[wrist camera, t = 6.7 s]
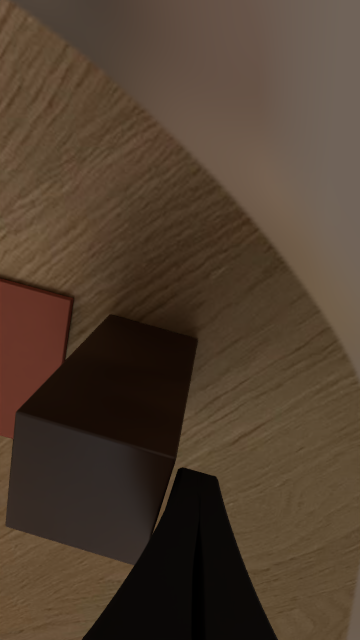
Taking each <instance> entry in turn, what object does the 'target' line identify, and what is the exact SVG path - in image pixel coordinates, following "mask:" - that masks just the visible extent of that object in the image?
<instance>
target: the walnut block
mask: <svg viewBox="0 0 360 640" xmlns="http://www.w3.org/2000/svg"><path fill="white" fill-rule="evenodd" d="M197 343H198V339H196V338H192V337H189V336H185V335H181V334H178V333H174V332H171V331H167V330H164V329H160V328H157V327H153V326H150V325H146V324H142V323H139V322H135V321H132V320H128V319H125V318H121V317H118V316H114V315H109V316H108V317H107V318H106V319H105V320H104V321H103V322H102V323H101V324H100V325H99V326H98V327H97V328H96V329H95V330H94V331H93V332H92V333H91V334H90V335H89V337H88V338H87V339H86V340H85V341H84V342H83V343H82V344H81V345H80V346H79V347H78V348H77V349H76V350H75V351H74V352H73V353H72V354H71V355H70V356H69V357H68V358H67V359H66V360H65V361H64V362H63V363H62V365H61V366H60V367H59V368H58V369H57V370H56V371H55V372H54V373H53V374H52V375H51V376H50V377H49V378H48V379H47V380H46V381H45V382H44V383H43V384H42V385H41V386H40V387H39V388H38V389H37V390H36V391H35V392H34V394H33V395H32V396H31V397H30V398H29V399H28V400H27V401H26V402H25V403H24V404H23V405H22V406H21V407H20V408H19V409H18V410H17V411H16V414H15V425H14V436H13V447H12V458H11V469H10V480H9V491H8V502H7V513H6V524H5V525H6V526H7V527H9V528H13V529H16V530H19V531H23V532H26V533H29V534H32V535H36V536H39V537H42V538H46V539H49V540H52V541H56V542H59V543H62V544H66V545H69V546H72V547H75V548H79V549H82V550H85V551H89V552H92V553H95V554H99V555H102V556H105V557H109V558H112V559H115V560H119V561H122V562H125V563H128V564H132V565H135V564H136V562H137V561H138V559H139V557H140V556H141V554H142V552H143V551H144V549H145V547H146V545H147V543H148V542H149V540H150V538H151V536H152V534H153V531H154V528H155V524H156V521H157V518H158V515H159V512H160V509H161V505H162V502H163V499H164V496H165V493H166V490H167V486H168V483H169V480H170V477H171V474H172V471H173V467H174V464H175V461H176V457H177V452H178V446H179V441H180V435H181V430H182V424H183V419H184V414H185V408H186V403H187V397H188V392H189V386H190V381H191V376H192V370H193V365H194V359H195V354H196V349H197Z"/></svg>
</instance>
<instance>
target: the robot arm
mask: <svg viewBox="0 0 360 640" xmlns="http://www.w3.org/2000/svg"><path fill="white" fill-rule="evenodd" d="M82 640H278V639H277V637H276V635H275V633H274V631H273V629H272V627H271V625H270V623H269V620H268V618H267V616H266V614H265V612H264V610H263V608H262V605H261V603H260V601H259V599H258V596H257V594H256V592H255V589H254V587H253V585H252V582H251V580H250V577H249V575H248V572H247V570H246V567H245V565H244V562H243V559H242V557H241V554H240V551H239V549H238V546H237V543H236V540H235V537H234V534H233V531H232V528H231V525H230V522H229V519H228V516H227V512H226V509H225V506H224V502H223V498H222V495H221V491H220V487H219V482H218V479H217V478H216V476H212V475H208V474H205V473H201V472H198V471H194V470H191V469H187V468H183V467H182V468H180V469H178V471H177V474H176V477H175V480H174V483H173V487H172V490H171V493H170V496H169V499H168V502H167V505H166V508H165V511H164V513H163V515H162V517H161V519H160V521H159V523H158V525H157V527H156V529H155V531H154V533H153V535H152V536H151V538H150V540H149V542H148V543H147V545H146V547H145V549H144V551H143V552H142V554H141V556H140V557H139V559H138V561H137V562H136V564H135V565H134V567H133V569H132V570H131V572H130V573H129V575H128V576H127V578H126V579H125V581H124V582H123V584H122V585H121V587H120V588H119V590H118V591H117V593H116V594H115V595H114V597H113V598H112V600H111V601H110V603H109V604H108V605H107V607H106V608H105V610H104V611H103V612H102V614H101V615H100V617H99V618H98V619H97V621H96V622H95V623H94V625H93V626H92V627H91V629H90V630H89V631H88V632H87V634H86V635H85V636H84V637H83V639H82Z"/></svg>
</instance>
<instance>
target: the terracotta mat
mask: <svg viewBox="0 0 360 640" xmlns="http://www.w3.org/2000/svg"><path fill="white" fill-rule="evenodd" d="M72 306H73V298H70V297H67V296H63V295H59V294H56V293H52V292H48V291H45V290H41V289H37V288H34V287H30V286H26V285H23V284H19V283H16V282H12V281H8V280H5V279H1V278H0V435H1V436H5V437H8V438H12V439H13V436H14V425H15V414H16V411H17V410H18V409H19V408H20V407H21V406H22V405H23V404H24V403H25V402H26V401H27V400H28V399H29V398H30V397H31V396H32V395H33V394H34V392H35V391H36V390H37V389H38V388H39V387H40V386H41V385H42V384H43V383H44V382H45V381H46V380H47V379H48V378H49V377H50V376H51V375H52V374H53V373H54V372H55V371H56V370H57V369H58V368H59V367H60V366H61V365H62V363H63V362H64V361H65V355H66V348H67V341H68V334H69V327H70V320H71V313H72Z"/></svg>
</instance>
